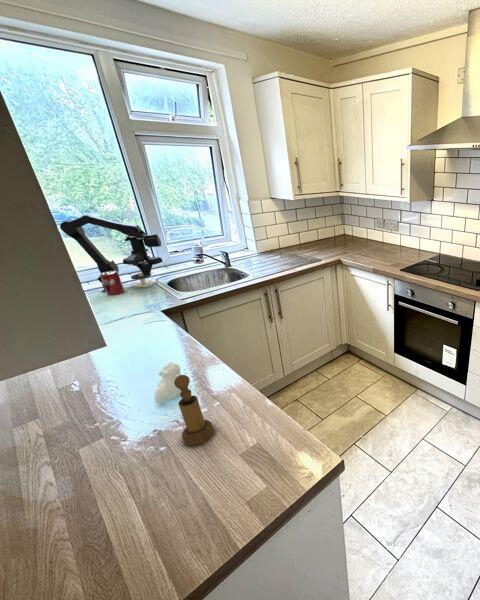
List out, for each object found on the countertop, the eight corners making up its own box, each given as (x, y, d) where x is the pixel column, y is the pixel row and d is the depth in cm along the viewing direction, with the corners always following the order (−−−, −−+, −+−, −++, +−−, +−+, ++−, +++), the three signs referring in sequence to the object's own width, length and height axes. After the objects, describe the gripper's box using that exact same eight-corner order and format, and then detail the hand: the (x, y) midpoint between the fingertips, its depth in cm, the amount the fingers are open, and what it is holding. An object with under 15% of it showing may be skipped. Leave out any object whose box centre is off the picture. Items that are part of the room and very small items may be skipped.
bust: (167, 414, 93) (185, 384, 91) (138, 404, 90) (156, 373, 88) (183, 388, 104) (200, 361, 102) (157, 378, 101) (174, 350, 99)
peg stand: (130, 288, 183) (126, 275, 180) (143, 282, 191) (139, 270, 188) (145, 288, 182) (141, 275, 179) (157, 283, 191) (153, 270, 188)
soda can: (115, 297, 170) (107, 275, 166) (104, 296, 172) (95, 274, 167) (128, 292, 177) (121, 271, 172) (117, 291, 178) (110, 270, 174)
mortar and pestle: (192, 427, 85) (173, 369, 78) (218, 425, 86) (201, 367, 79) (178, 447, 79) (157, 386, 72) (206, 445, 80) (187, 384, 73)
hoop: (127, 280, 181) (126, 277, 180) (140, 274, 190) (139, 272, 189) (142, 279, 180) (141, 277, 180) (155, 274, 189) (154, 271, 188)
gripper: (109, 251, 171) (119, 279, 177) (143, 251, 170) (152, 280, 176) (127, 246, 182) (136, 273, 188) (159, 247, 180) (167, 274, 186)
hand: (147, 275), depth 184 cm, fingers closed on hoop, 1 cm apart
